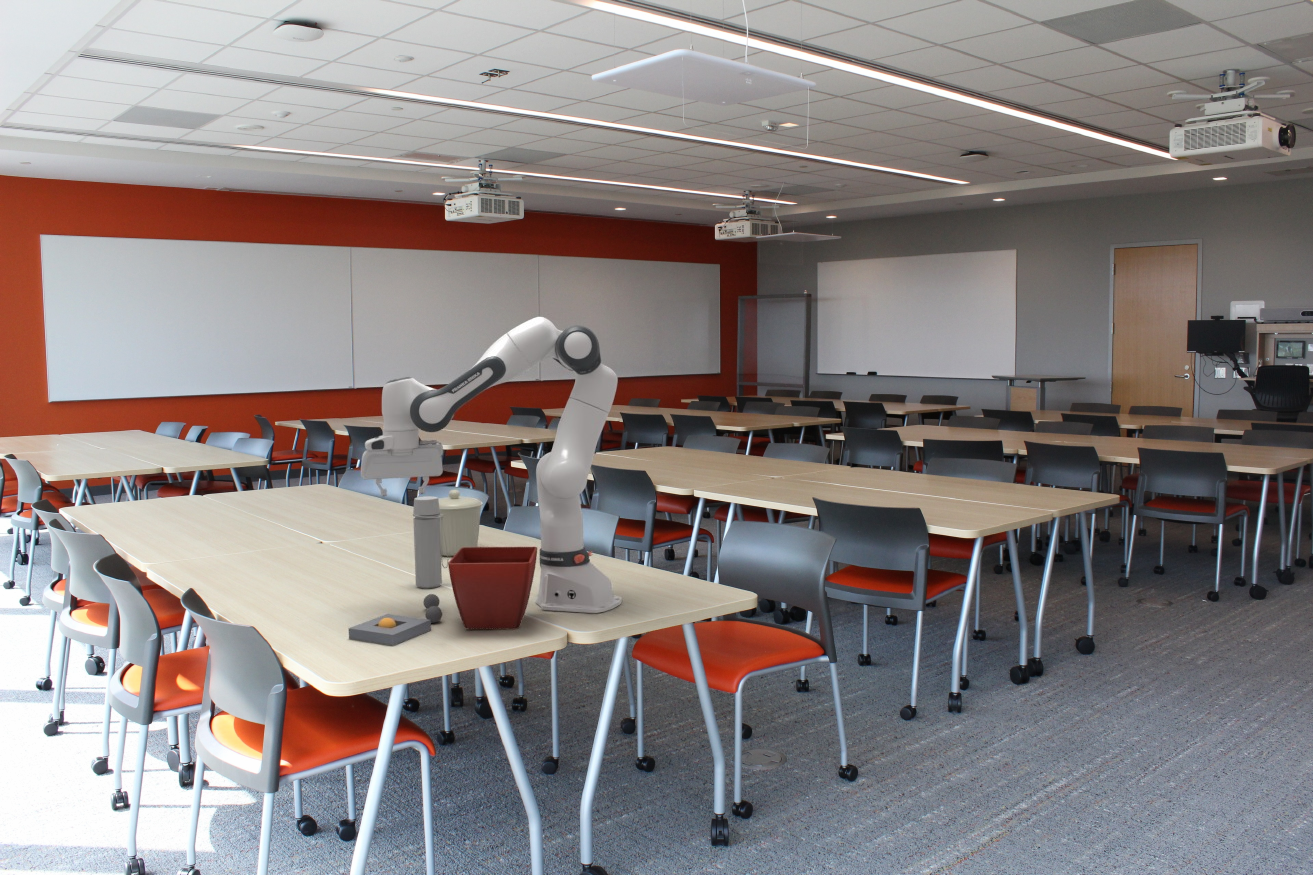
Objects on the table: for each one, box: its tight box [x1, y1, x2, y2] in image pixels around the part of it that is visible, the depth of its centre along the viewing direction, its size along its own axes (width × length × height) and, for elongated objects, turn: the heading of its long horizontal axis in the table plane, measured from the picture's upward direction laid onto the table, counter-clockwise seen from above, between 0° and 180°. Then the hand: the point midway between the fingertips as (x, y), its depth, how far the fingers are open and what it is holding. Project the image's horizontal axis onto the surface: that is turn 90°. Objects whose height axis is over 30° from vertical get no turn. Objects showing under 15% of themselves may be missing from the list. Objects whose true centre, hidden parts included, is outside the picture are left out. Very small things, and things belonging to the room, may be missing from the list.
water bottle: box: [412, 496, 449, 590], centre depth 264 cm, size 9×8×25 cm
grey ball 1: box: [423, 593, 441, 610], centre depth 240 cm, size 4×4×4 cm
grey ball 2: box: [424, 606, 443, 624], centre depth 228 cm, size 4×4×4 cm
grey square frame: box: [348, 613, 432, 646], centre depth 219 cm, size 13×13×2 cm
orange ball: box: [378, 618, 396, 628], centre depth 219 cm, size 4×4×4 cm
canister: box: [438, 489, 484, 557], centre depth 307 cm, size 18×18×21 cm
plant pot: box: [447, 546, 538, 630], centre depth 227 cm, size 19×19×17 cm
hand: (402, 495), depth 241 cm, fingers open, 8 cm apart
